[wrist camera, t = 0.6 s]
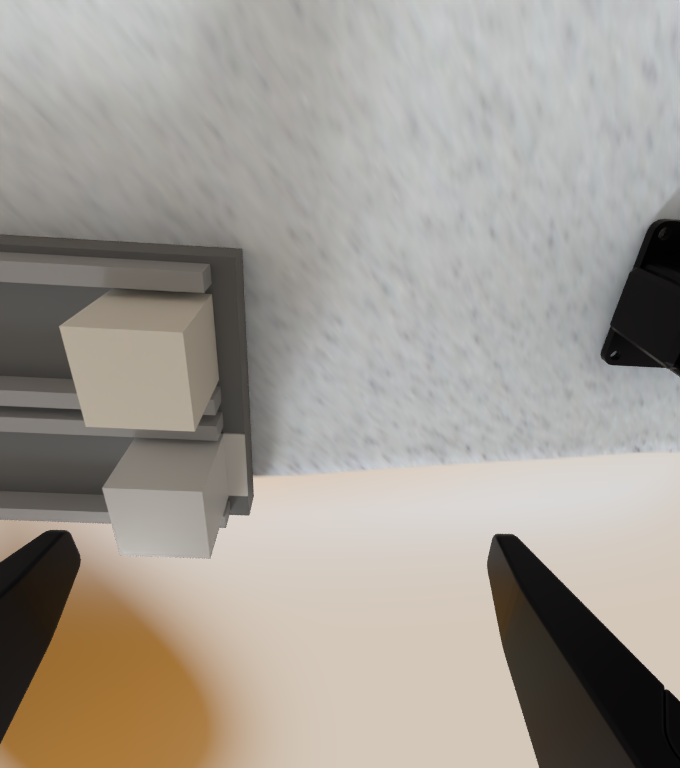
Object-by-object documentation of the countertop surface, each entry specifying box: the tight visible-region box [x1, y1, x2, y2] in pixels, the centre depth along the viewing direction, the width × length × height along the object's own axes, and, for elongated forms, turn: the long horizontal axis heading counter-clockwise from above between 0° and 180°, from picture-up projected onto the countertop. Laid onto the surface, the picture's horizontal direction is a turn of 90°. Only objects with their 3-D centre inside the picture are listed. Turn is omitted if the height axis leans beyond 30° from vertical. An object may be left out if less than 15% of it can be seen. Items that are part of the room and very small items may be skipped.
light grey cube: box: [102, 434, 229, 559], centre depth 21 cm, size 4×4×4 cm
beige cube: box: [59, 288, 219, 432], centre depth 17 cm, size 4×4×4 cm
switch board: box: [0, 235, 254, 528], centre depth 21 cm, size 16×14×3 cm
